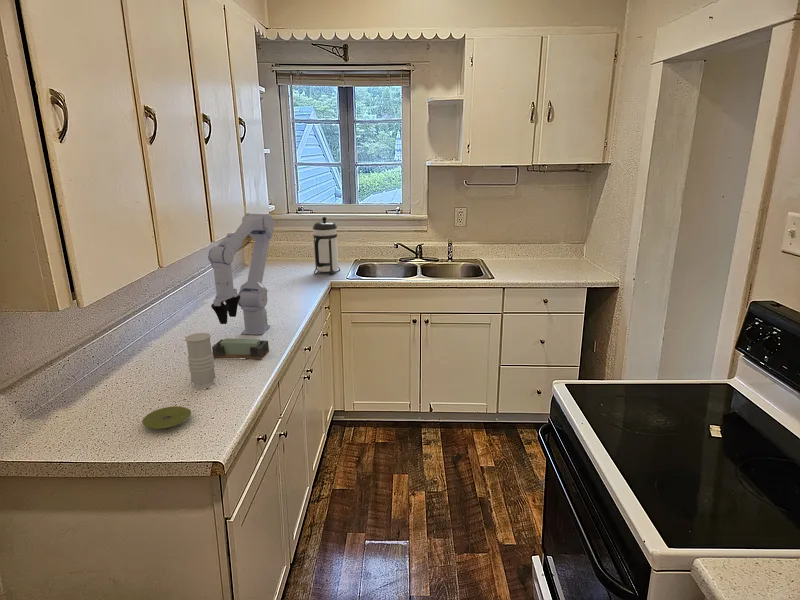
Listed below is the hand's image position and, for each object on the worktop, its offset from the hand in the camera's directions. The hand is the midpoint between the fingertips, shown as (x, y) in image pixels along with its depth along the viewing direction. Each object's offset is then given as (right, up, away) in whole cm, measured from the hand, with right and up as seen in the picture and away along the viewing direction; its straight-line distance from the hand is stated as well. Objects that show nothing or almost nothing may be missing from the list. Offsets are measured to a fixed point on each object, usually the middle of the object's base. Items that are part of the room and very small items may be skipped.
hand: (228, 320), depth 182 cm
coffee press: (+19, +21, +105) cm, 109 cm away
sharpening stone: (+6, -10, -6) cm, 14 cm away
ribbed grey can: (+2, -18, -27) cm, 33 cm away
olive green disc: (+1, -24, -48) cm, 54 cm away
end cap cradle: (+6, -11, -6) cm, 14 cm away
